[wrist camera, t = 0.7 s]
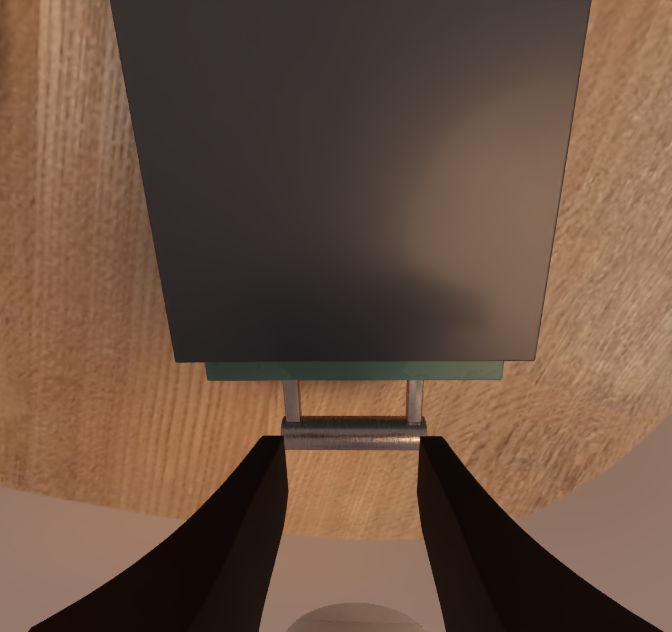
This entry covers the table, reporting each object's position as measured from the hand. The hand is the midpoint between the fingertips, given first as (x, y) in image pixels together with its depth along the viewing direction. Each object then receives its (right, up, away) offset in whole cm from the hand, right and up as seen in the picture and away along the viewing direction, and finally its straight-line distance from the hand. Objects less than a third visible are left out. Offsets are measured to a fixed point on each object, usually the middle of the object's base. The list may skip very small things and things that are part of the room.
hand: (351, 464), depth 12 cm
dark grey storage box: (0, +12, +6) cm, 13 cm away
